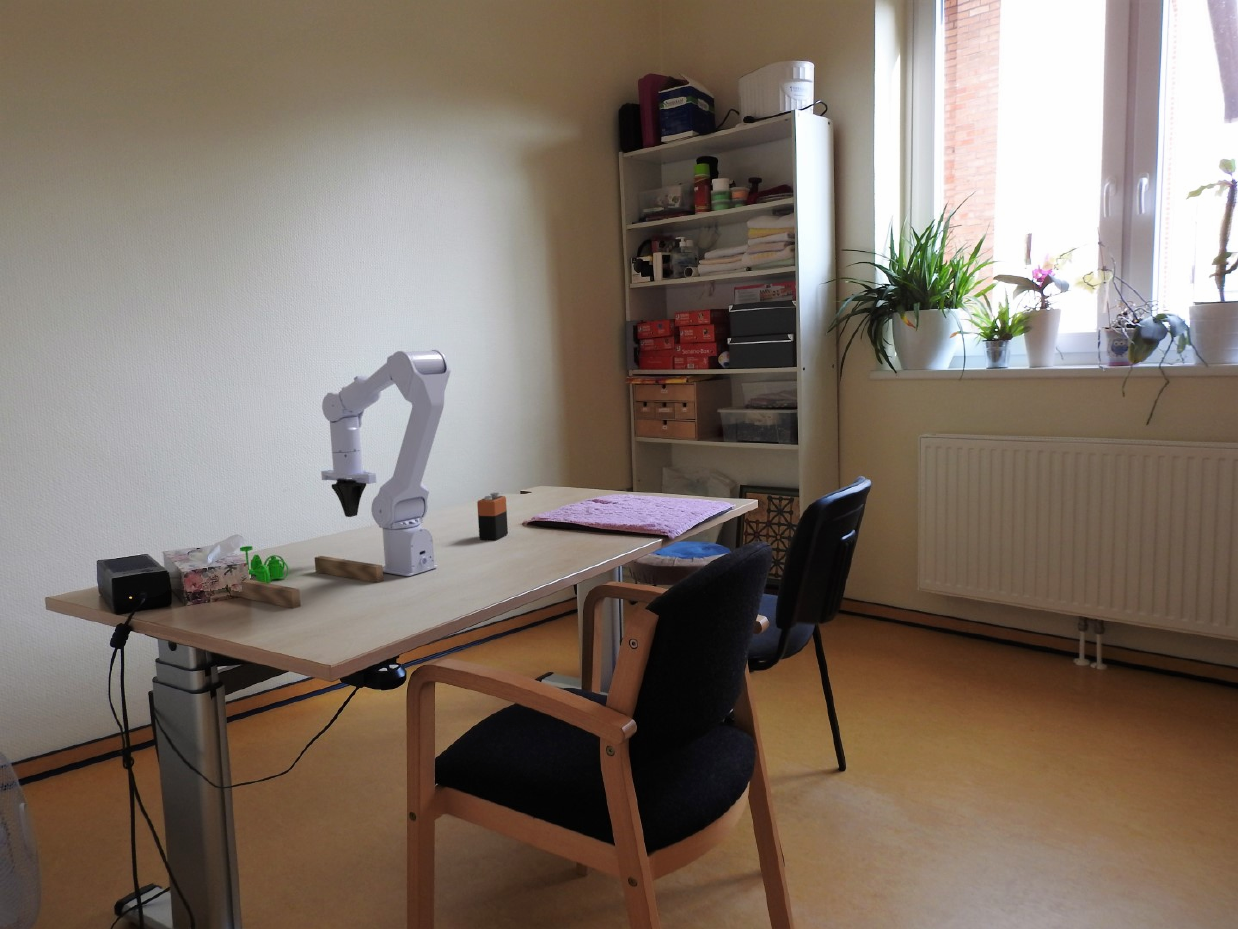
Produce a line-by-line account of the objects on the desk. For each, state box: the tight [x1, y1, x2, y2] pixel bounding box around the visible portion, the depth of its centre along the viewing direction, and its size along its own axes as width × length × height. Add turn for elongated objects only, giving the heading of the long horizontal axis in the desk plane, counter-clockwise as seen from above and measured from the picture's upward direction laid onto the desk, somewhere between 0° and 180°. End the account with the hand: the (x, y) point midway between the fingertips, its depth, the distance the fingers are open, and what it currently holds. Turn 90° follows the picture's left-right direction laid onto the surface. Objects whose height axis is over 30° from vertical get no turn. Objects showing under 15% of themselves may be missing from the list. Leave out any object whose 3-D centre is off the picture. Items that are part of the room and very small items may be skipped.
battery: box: [476, 492, 509, 542], centre depth 205 cm, size 4×7×10 cm, turn 162°
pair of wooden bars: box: [230, 555, 384, 609], centre depth 167 cm, size 18×20×3 cm
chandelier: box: [239, 545, 290, 584], centre depth 173 cm, size 15×15×7 cm
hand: (351, 516), depth 187 cm, fingers closed
